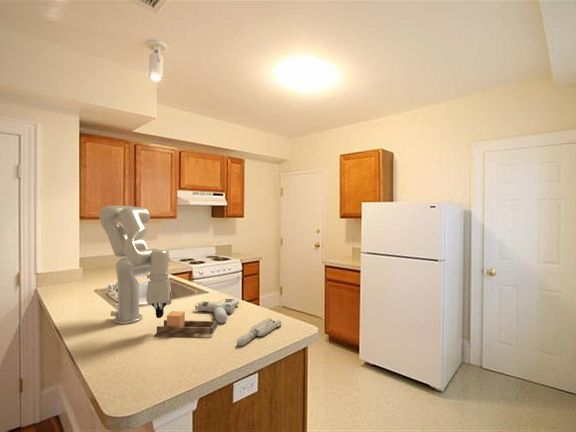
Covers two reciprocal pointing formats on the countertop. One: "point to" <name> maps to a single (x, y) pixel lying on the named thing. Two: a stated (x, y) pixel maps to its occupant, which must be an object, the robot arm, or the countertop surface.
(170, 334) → the chute
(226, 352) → the countertop surface
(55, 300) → the countertop surface
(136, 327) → the countertop surface
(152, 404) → the countertop surface
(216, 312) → the gun
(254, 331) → the rocket model
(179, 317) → the block
